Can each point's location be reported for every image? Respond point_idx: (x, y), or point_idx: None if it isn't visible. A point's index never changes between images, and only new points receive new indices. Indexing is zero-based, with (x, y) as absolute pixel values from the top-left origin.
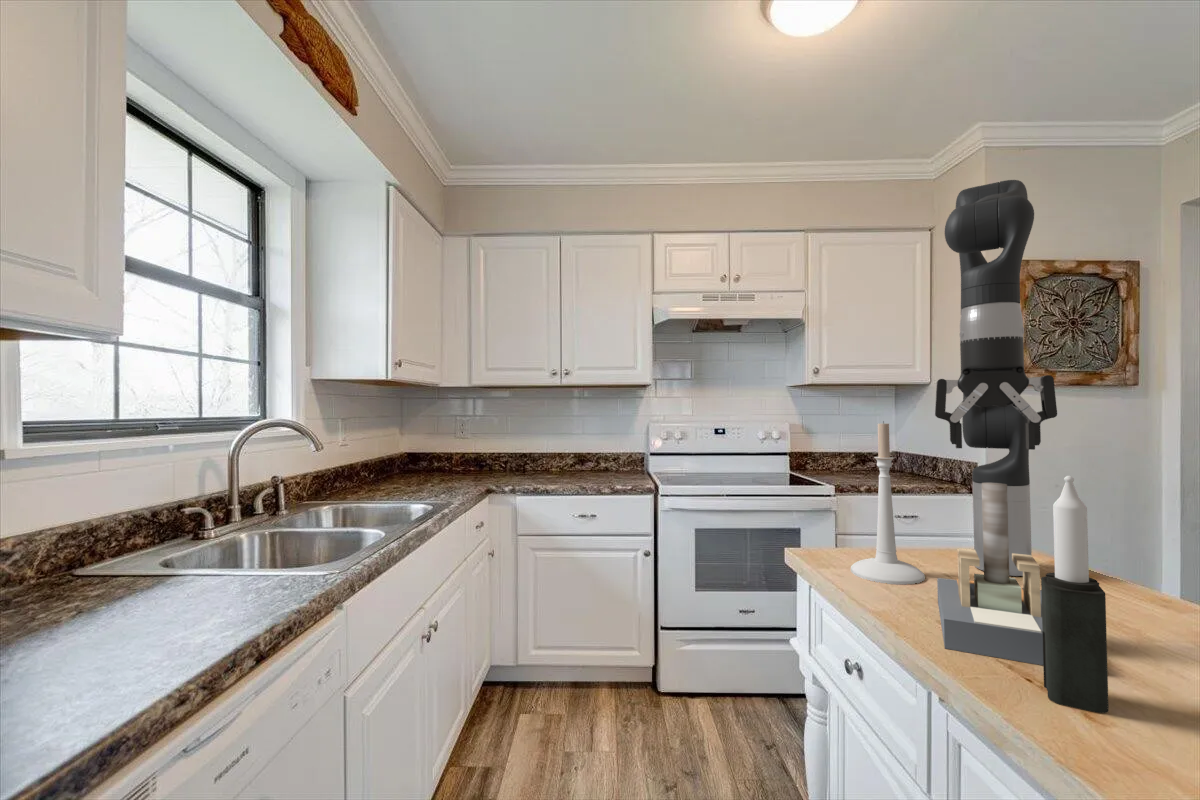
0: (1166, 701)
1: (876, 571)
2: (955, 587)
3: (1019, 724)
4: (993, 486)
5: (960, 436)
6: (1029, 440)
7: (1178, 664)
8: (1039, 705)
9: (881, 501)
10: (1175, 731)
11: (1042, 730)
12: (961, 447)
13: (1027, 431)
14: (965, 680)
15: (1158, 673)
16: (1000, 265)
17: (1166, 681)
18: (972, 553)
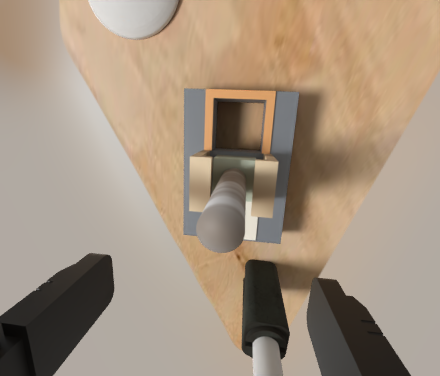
0: (316, 258)
1: (117, 22)
2: (201, 125)
3: (220, 313)
4: (215, 251)
5: (82, 331)
6: (316, 352)
7: (363, 186)
8: (236, 289)
9: None
10: (300, 295)
11: (230, 315)
12: (111, 297)
13: (332, 369)
14: (199, 271)
15: (336, 212)
16: None
17: (334, 225)
18: (205, 182)
